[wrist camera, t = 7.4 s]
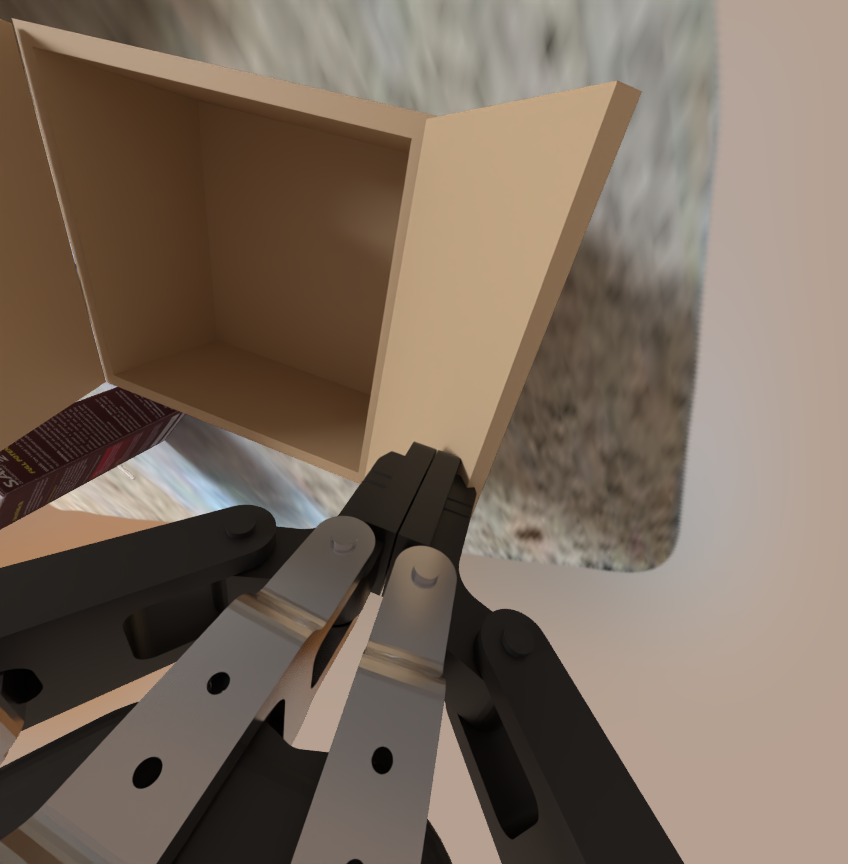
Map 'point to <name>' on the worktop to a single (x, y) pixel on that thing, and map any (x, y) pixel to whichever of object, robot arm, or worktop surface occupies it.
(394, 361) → the flap
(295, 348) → the carton
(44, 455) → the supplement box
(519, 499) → the worktop surface
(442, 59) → the worktop surface
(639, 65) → the worktop surface
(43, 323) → the flap
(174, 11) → the worktop surface
